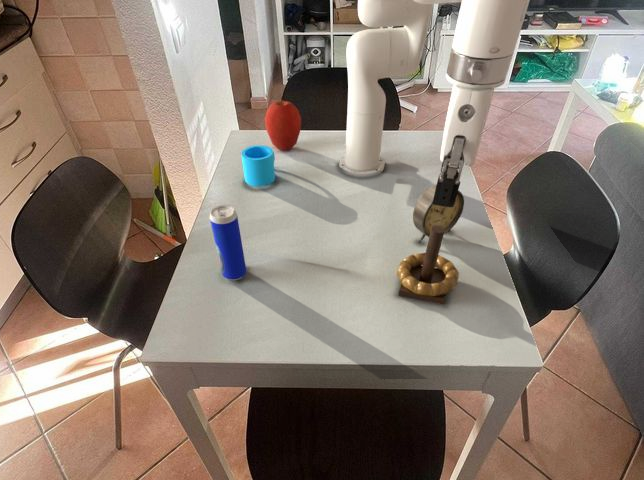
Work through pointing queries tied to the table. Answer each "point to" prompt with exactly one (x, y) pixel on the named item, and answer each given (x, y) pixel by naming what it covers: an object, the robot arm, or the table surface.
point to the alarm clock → (436, 213)
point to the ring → (427, 288)
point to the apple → (283, 124)
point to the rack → (428, 268)
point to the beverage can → (228, 241)
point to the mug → (258, 165)
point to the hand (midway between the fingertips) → (446, 188)
